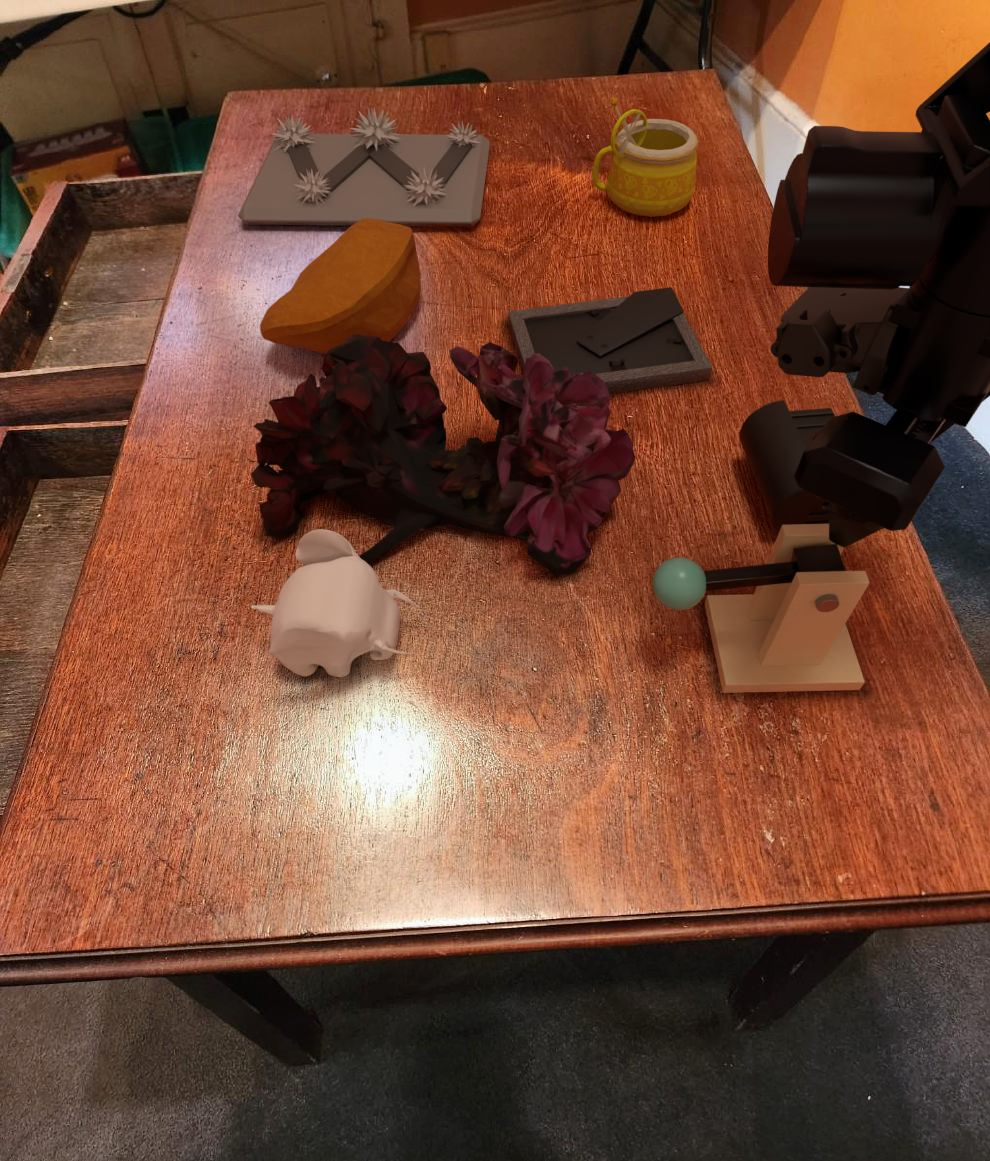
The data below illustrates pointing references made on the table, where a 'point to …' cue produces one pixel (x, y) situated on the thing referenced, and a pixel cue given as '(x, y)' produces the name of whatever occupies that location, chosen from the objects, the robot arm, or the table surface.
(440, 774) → the table surface
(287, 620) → the elephant figurine
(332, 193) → the decorative plate
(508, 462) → the flower arrangement
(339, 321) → the bread
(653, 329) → the picture frame
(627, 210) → the mug
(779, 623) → the bracket
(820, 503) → the end cap
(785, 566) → the lever
